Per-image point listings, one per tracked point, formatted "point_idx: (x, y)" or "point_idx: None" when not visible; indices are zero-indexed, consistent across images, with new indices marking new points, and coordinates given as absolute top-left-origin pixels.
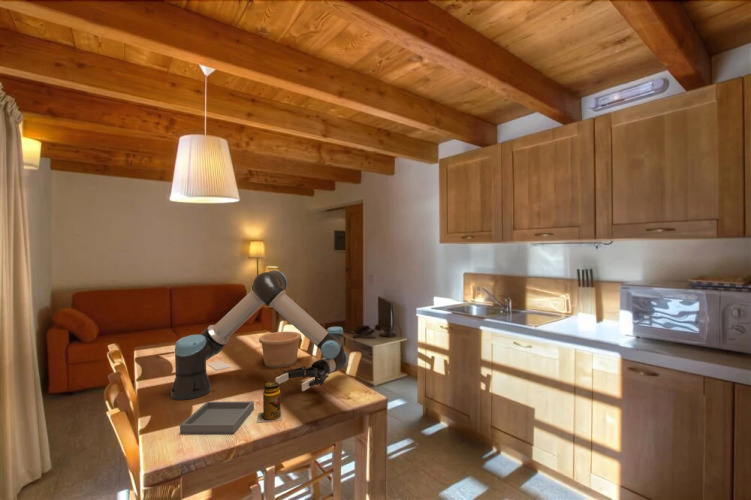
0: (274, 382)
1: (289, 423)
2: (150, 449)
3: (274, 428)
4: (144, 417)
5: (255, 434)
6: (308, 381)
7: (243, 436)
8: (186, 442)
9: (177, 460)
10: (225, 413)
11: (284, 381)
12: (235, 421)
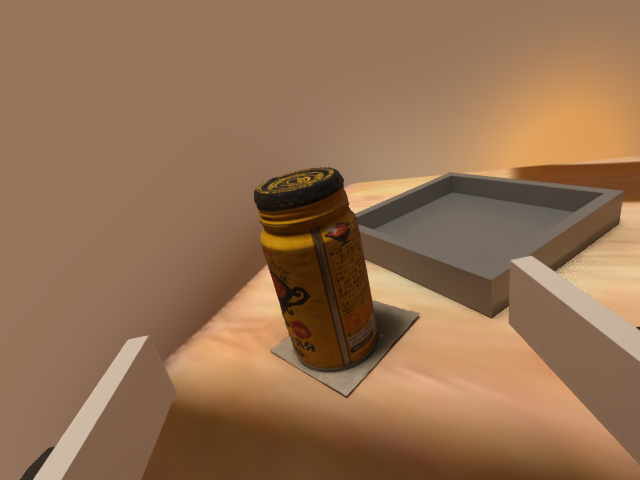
0: (302, 186)
1: (213, 359)
2: (422, 178)
3: (249, 313)
4: (635, 157)
5: None
6: (78, 414)
7: None
8: None
9: None
10: (500, 240)
11: (597, 418)
12: None
